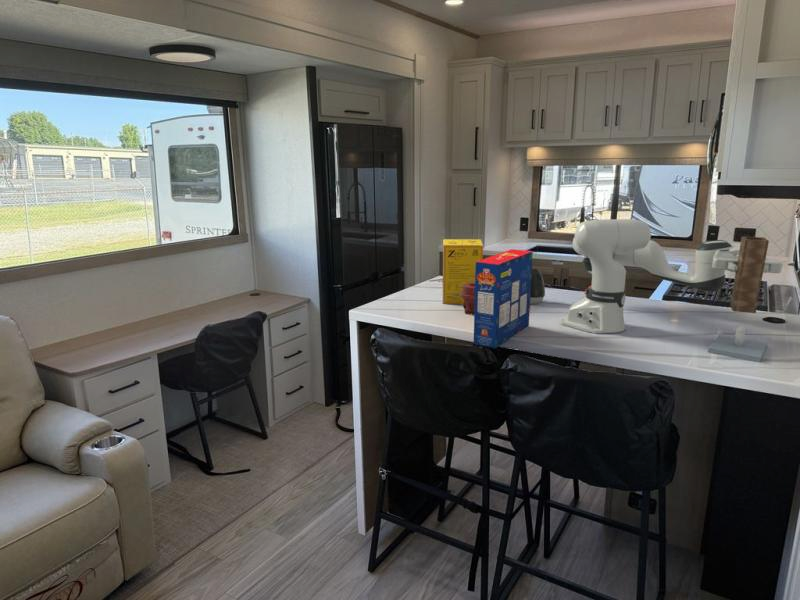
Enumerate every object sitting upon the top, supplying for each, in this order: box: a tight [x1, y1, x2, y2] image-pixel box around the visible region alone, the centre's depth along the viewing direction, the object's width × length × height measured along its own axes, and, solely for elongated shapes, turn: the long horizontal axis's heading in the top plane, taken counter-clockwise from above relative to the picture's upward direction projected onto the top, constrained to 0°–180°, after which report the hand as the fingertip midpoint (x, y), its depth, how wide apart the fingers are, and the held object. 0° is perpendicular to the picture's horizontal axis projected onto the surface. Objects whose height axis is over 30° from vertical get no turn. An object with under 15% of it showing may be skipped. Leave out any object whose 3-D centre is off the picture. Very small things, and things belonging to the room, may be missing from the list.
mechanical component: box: [460, 282, 475, 315], centre depth 220 cm, size 12×10×10 cm
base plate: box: [707, 326, 768, 363], centre depth 176 cm, size 14×16×8 cm
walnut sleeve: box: [729, 236, 770, 314], centre depth 182 cm, size 6×6×24 cm
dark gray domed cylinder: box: [530, 266, 546, 305], centre depth 233 cm, size 10×10×15 cm
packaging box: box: [442, 238, 484, 305], centre depth 239 cm, size 16×16×25 cm
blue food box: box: [473, 248, 534, 349], centre depth 191 cm, size 28×8×28 cm, turn 145°
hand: (750, 269), depth 181 cm, fingers closed on walnut sleeve, 6 cm apart
